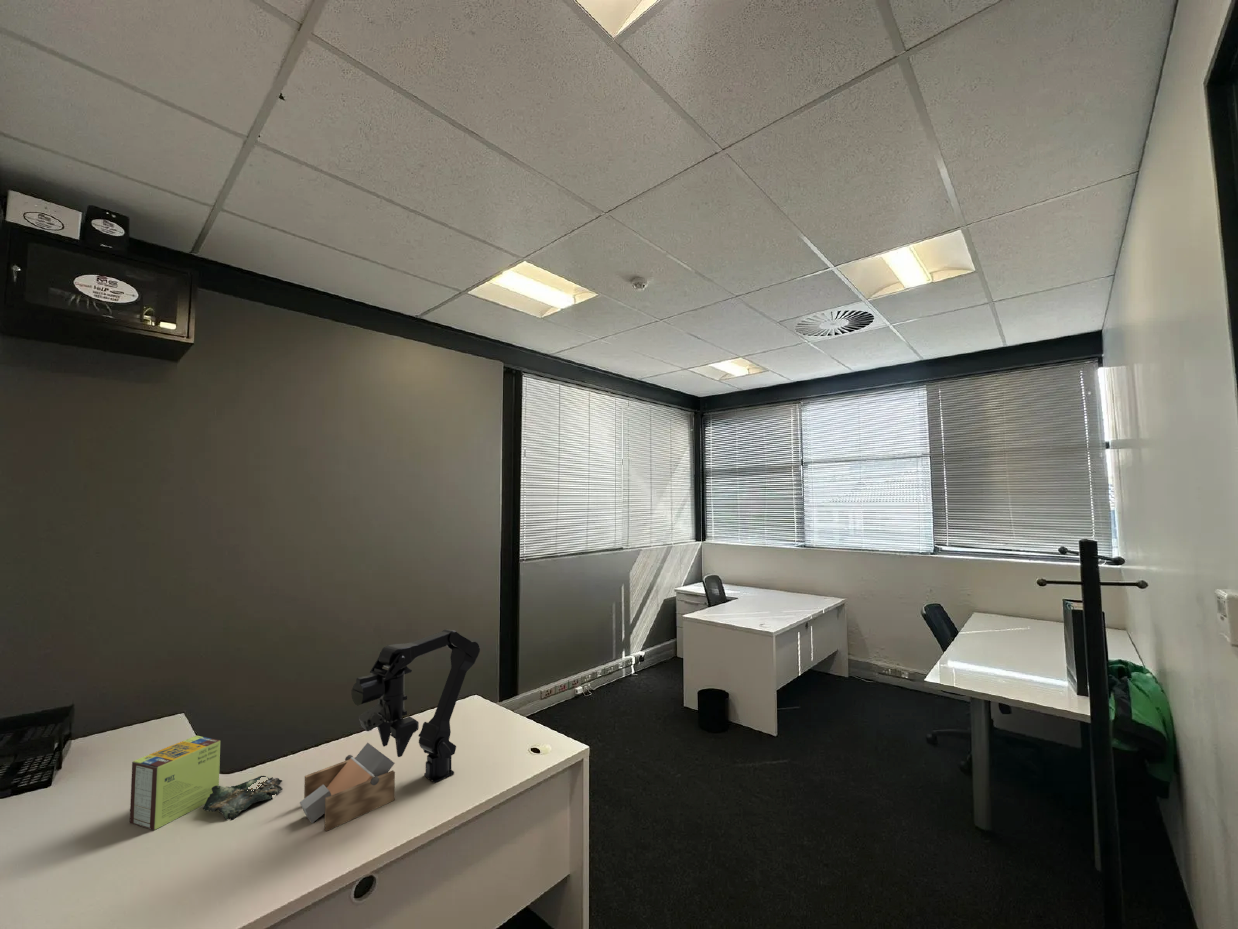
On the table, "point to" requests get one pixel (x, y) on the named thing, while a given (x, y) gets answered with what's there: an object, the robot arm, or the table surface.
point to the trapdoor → (361, 769)
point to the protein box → (173, 781)
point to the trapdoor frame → (350, 794)
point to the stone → (315, 803)
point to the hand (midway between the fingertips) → (392, 751)
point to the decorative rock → (240, 796)
